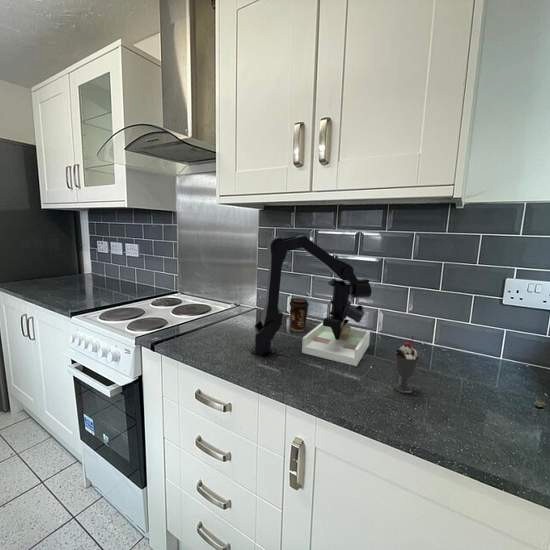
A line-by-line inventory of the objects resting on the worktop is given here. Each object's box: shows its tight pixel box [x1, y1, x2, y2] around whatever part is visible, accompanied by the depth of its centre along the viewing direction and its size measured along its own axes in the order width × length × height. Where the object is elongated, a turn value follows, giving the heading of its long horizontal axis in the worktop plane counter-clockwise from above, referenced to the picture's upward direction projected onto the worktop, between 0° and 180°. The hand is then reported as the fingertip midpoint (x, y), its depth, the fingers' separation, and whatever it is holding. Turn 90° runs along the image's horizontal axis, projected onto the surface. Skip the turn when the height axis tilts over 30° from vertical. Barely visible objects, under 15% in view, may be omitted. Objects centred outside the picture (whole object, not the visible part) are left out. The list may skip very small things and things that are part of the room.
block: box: [340, 324, 352, 341], centre depth 112 cm, size 4×4×4 cm
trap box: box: [301, 322, 371, 367], centre depth 108 cm, size 20×19×6 cm
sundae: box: [393, 335, 421, 391], centre depth 81 cm, size 7×7×15 cm
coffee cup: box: [289, 297, 310, 332], centre depth 127 cm, size 9×8×13 cm
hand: (337, 339), depth 108 cm, fingers closed
